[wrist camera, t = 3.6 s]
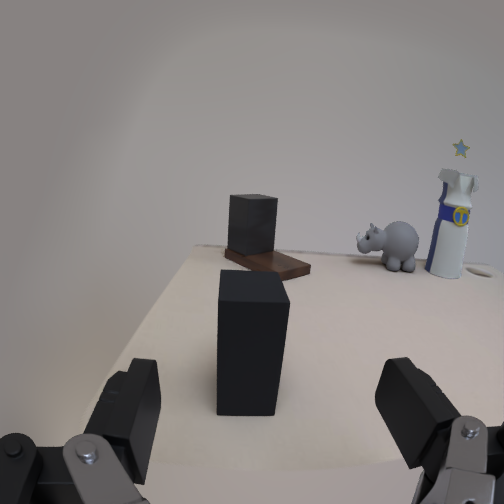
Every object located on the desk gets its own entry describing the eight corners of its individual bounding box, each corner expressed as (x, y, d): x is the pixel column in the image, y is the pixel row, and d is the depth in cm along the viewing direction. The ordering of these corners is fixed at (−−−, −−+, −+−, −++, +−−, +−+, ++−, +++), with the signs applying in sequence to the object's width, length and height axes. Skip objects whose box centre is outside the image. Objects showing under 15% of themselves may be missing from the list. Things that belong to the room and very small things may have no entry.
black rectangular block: (216, 415, 20) (218, 300, 17) (218, 372, 25) (220, 269, 22) (274, 415, 20) (290, 302, 18) (267, 373, 25) (278, 271, 23)
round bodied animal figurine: (348, 257, 59) (354, 213, 57) (405, 263, 58) (413, 220, 56) (356, 270, 52) (363, 220, 50) (418, 275, 51) (428, 228, 49)
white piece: (469, 281, 49) (491, 146, 42) (431, 277, 50) (452, 136, 43) (454, 267, 57) (471, 147, 50) (419, 263, 58) (435, 138, 51)
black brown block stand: (276, 282, 45) (283, 207, 42) (224, 257, 54) (227, 195, 52) (309, 273, 49) (317, 206, 46) (256, 251, 59) (260, 194, 56)
